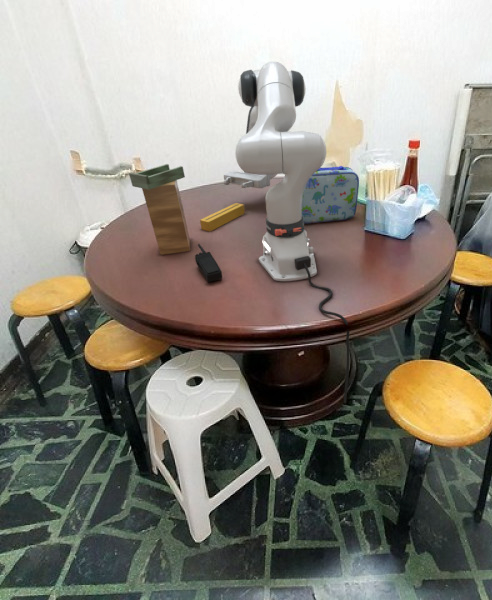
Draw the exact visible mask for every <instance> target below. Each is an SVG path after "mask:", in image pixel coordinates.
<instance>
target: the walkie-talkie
mask: <svg viewBox="0 0 492 600" xmlns="http://www.w3.org/2000/svg"><path fill="white" fill-rule="evenodd" d="M197 246H198V248H199V249H200V252H198V253H197V254H195V255H194V260H195V263H196V266H197V267H198V269H199V270H200V272H201V274H202V276H203V277H204V278H205V280H206V281H207V282H208V283H211V282H214V281H218V280H222V279H223V273H222V270H221V268H220V266H219V264H218V263H217V261H216V259H215V258H214V256H213V254H212V253H211V252H210V251H205V249H204V247H202V246H201V244H200V243H198V244H197Z"/></svg>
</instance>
